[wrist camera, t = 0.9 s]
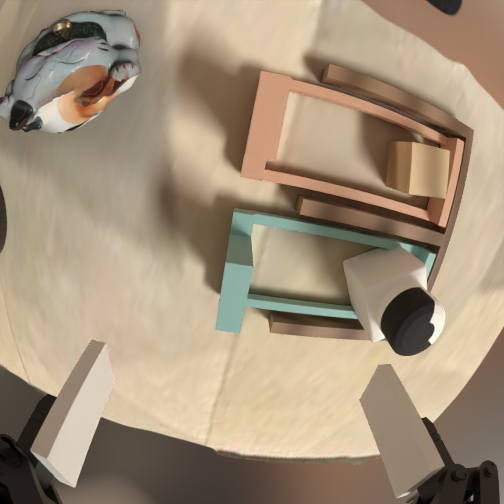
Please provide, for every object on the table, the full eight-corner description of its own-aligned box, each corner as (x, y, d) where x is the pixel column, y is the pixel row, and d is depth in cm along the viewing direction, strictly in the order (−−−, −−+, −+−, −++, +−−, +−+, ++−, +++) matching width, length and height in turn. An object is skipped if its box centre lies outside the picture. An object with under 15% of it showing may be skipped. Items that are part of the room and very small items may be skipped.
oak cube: (385, 186, 28) (408, 194, 23) (387, 141, 26) (412, 141, 21) (420, 189, 28) (445, 198, 23) (423, 147, 26) (449, 150, 21)
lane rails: (268, 320, 33) (270, 332, 31) (322, 69, 23) (329, 63, 21) (399, 330, 35) (407, 341, 32) (461, 129, 25) (473, 130, 23)
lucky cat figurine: (154, 5, 19) (146, -13, 10) (146, 100, 28) (136, 144, 19) (31, 27, 15) (-36, 40, 6) (34, 116, 23) (-20, 171, 14)
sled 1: (240, 174, 27) (239, 187, 18) (259, 76, 23) (267, 44, 15) (431, 220, 29) (478, 245, 20) (448, 140, 25) (501, 146, 17)
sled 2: (219, 296, 31) (212, 348, 23) (234, 207, 28) (230, 234, 19) (395, 316, 33) (426, 359, 25) (422, 245, 30) (467, 276, 21)
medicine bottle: (351, 309, 33) (389, 375, 22) (341, 260, 31) (386, 319, 19) (400, 289, 32) (450, 345, 21) (394, 240, 30) (456, 286, 19)
